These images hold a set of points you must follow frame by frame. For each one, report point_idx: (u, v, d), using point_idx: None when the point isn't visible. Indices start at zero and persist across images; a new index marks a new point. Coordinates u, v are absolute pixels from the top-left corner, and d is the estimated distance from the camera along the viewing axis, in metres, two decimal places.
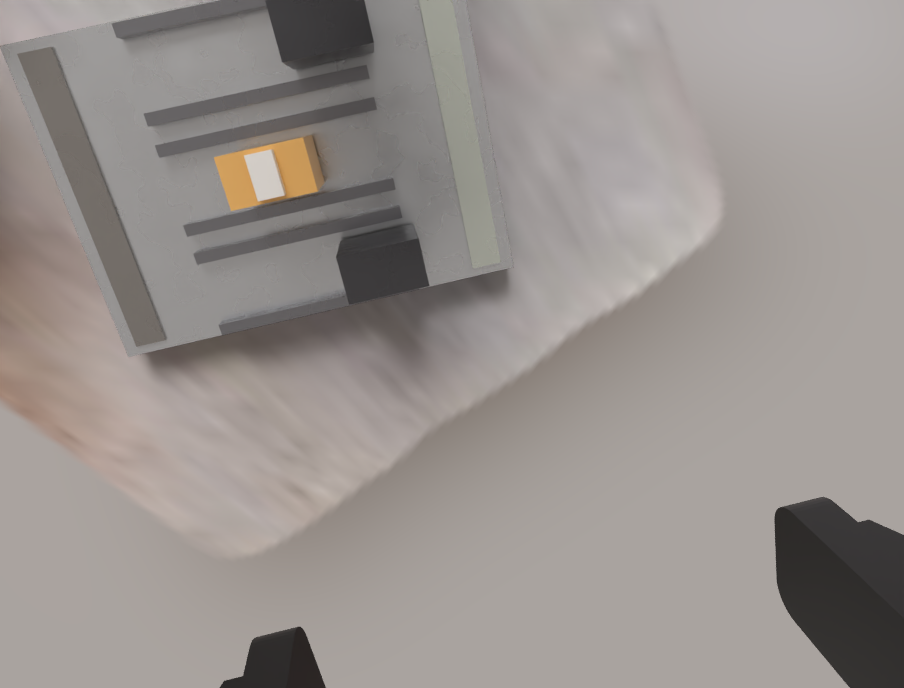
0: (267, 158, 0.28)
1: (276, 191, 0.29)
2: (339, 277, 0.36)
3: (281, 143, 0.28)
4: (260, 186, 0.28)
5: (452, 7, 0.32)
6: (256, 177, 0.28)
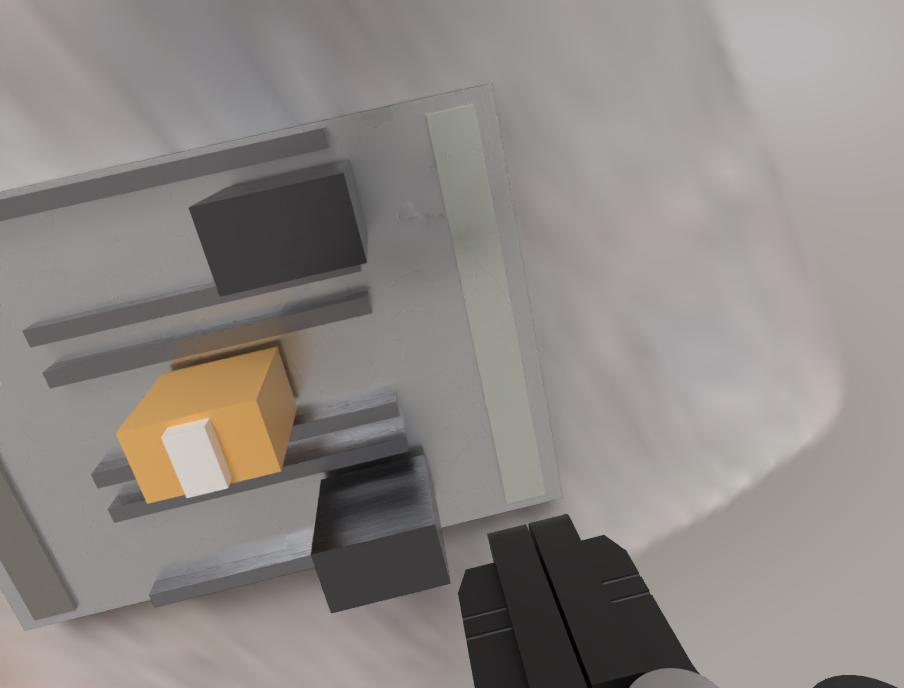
0: (199, 439, 0.18)
1: (215, 483, 0.18)
2: None
3: (222, 410, 0.18)
4: (189, 478, 0.18)
5: (484, 166, 0.21)
6: (183, 466, 0.18)
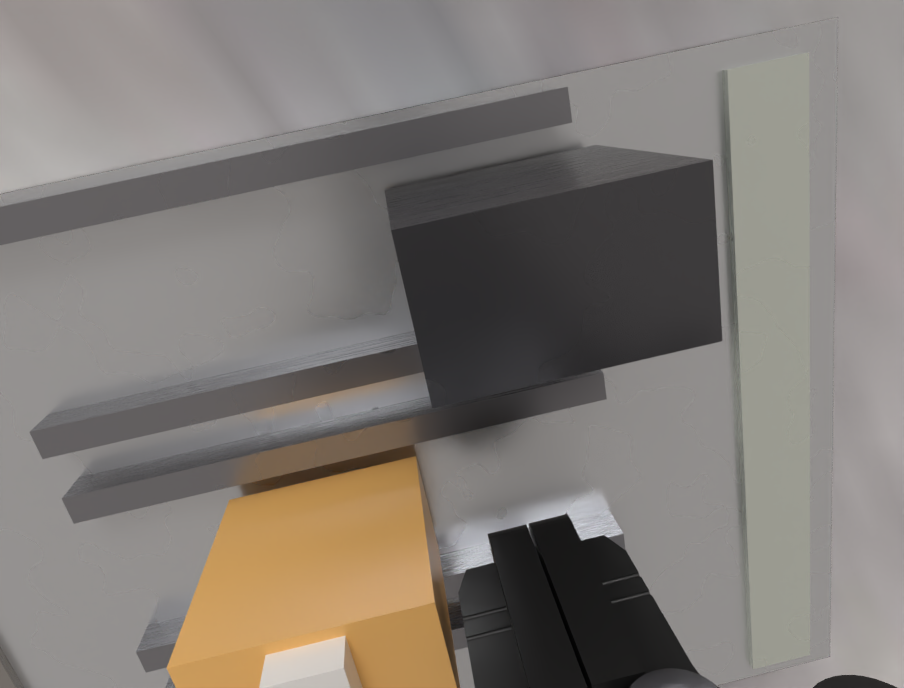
0: None
1: None
2: None
3: (371, 622, 0.10)
4: None
5: (805, 159, 0.13)
6: None
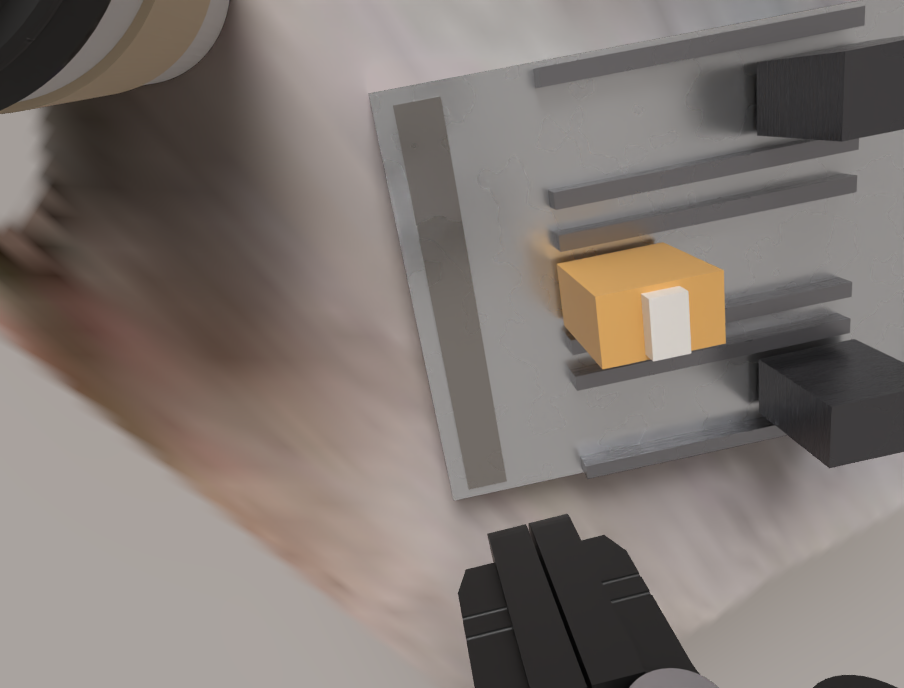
0: (680, 303, 0.19)
1: (681, 348, 0.20)
2: (739, 402, 0.27)
3: (693, 278, 0.19)
4: (661, 341, 0.19)
5: None
6: (659, 329, 0.19)
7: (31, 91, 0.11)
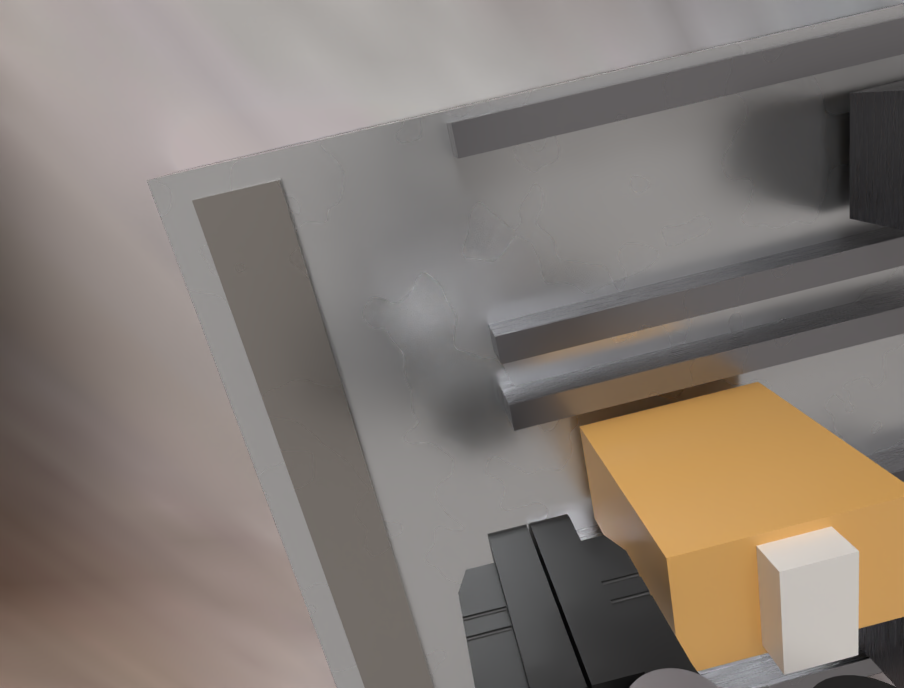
0: (841, 573, 0.09)
1: (839, 647, 0.10)
2: None
3: (859, 512, 0.10)
4: (801, 640, 0.10)
5: None
6: (797, 621, 0.10)
7: None
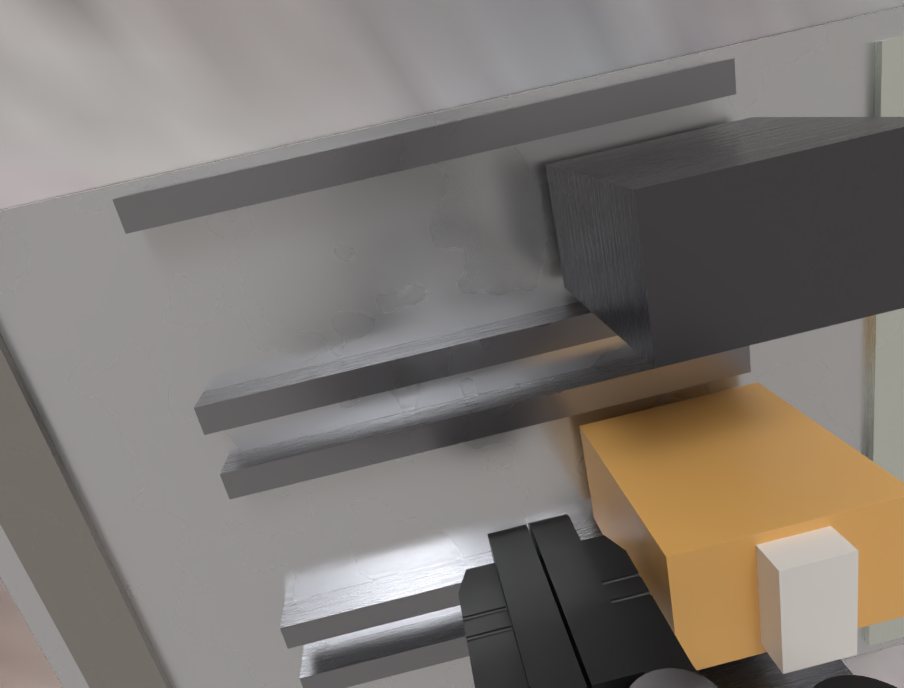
0: (841, 572, 0.09)
1: (838, 647, 0.10)
2: None
3: (859, 512, 0.10)
4: (800, 639, 0.10)
5: None
6: (797, 619, 0.10)
7: None
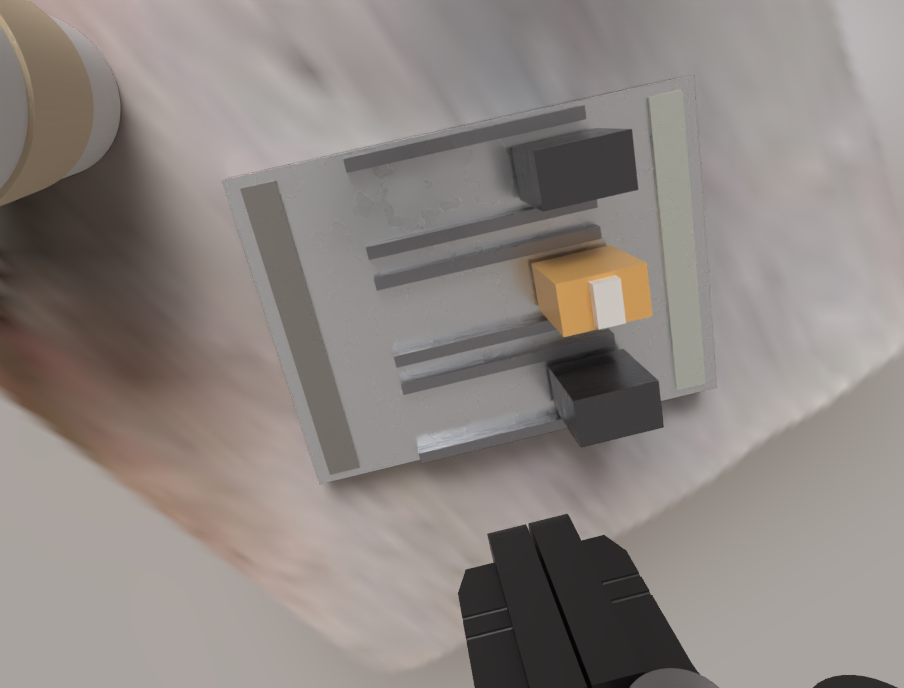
0: (615, 287, 0.27)
1: (618, 319, 0.27)
2: (540, 400, 0.34)
3: (625, 269, 0.27)
4: (603, 314, 0.27)
5: (684, 134, 0.30)
6: (601, 306, 0.27)
7: None
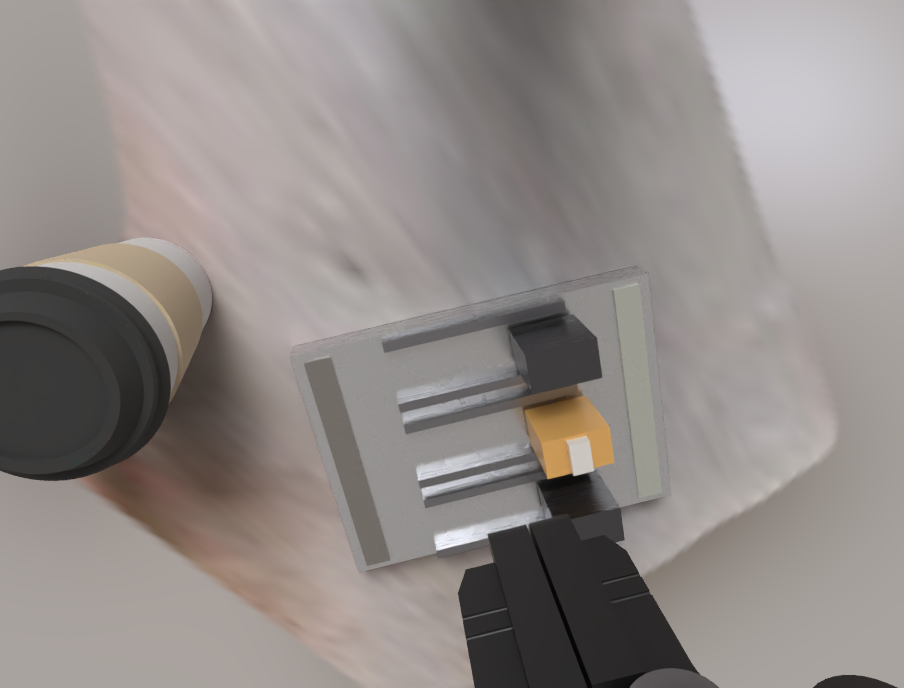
0: (585, 446, 0.36)
1: (588, 468, 0.37)
2: (532, 507, 0.44)
3: (593, 431, 0.37)
4: (577, 465, 0.36)
5: (641, 314, 0.40)
6: (575, 460, 0.36)
7: (130, 455, 0.28)
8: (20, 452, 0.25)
